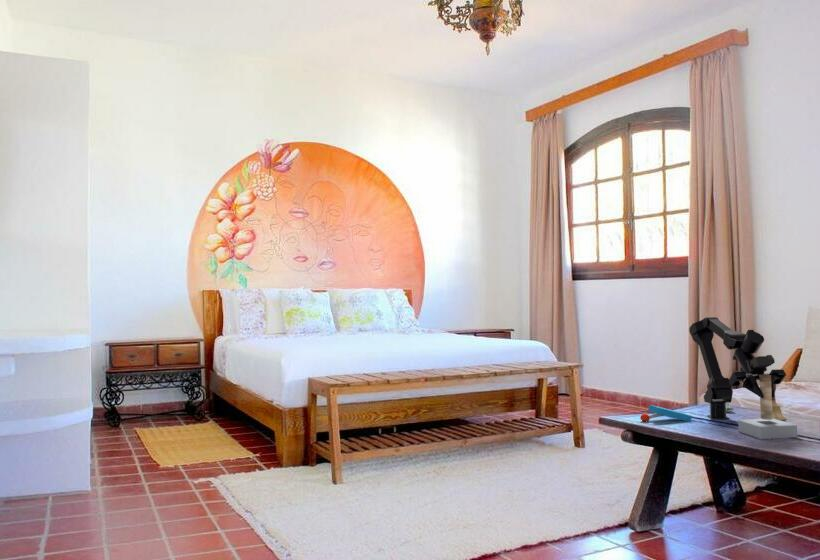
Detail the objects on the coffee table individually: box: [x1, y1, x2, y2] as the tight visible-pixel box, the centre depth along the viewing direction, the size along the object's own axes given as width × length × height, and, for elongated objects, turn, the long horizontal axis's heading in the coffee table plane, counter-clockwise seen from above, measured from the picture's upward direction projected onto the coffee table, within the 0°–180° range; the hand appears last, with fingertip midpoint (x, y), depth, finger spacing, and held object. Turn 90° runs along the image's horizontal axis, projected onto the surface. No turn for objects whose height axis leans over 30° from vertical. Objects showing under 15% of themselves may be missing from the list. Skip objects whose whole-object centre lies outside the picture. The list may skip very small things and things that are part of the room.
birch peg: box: [759, 375, 773, 420], centre depth 238 cm, size 4×4×15 cm
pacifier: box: [726, 402, 735, 413], centre depth 283 cm, size 7×6×6 cm
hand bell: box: [772, 385, 787, 421], centre depth 265 cm, size 8×8×16 cm
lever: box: [640, 404, 693, 422], centre depth 267 cm, size 7×7×18 cm
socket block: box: [737, 418, 798, 440], centre depth 238 cm, size 13×13×4 cm
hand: (768, 397), depth 237 cm, fingers closed on birch peg, 4 cm apart
